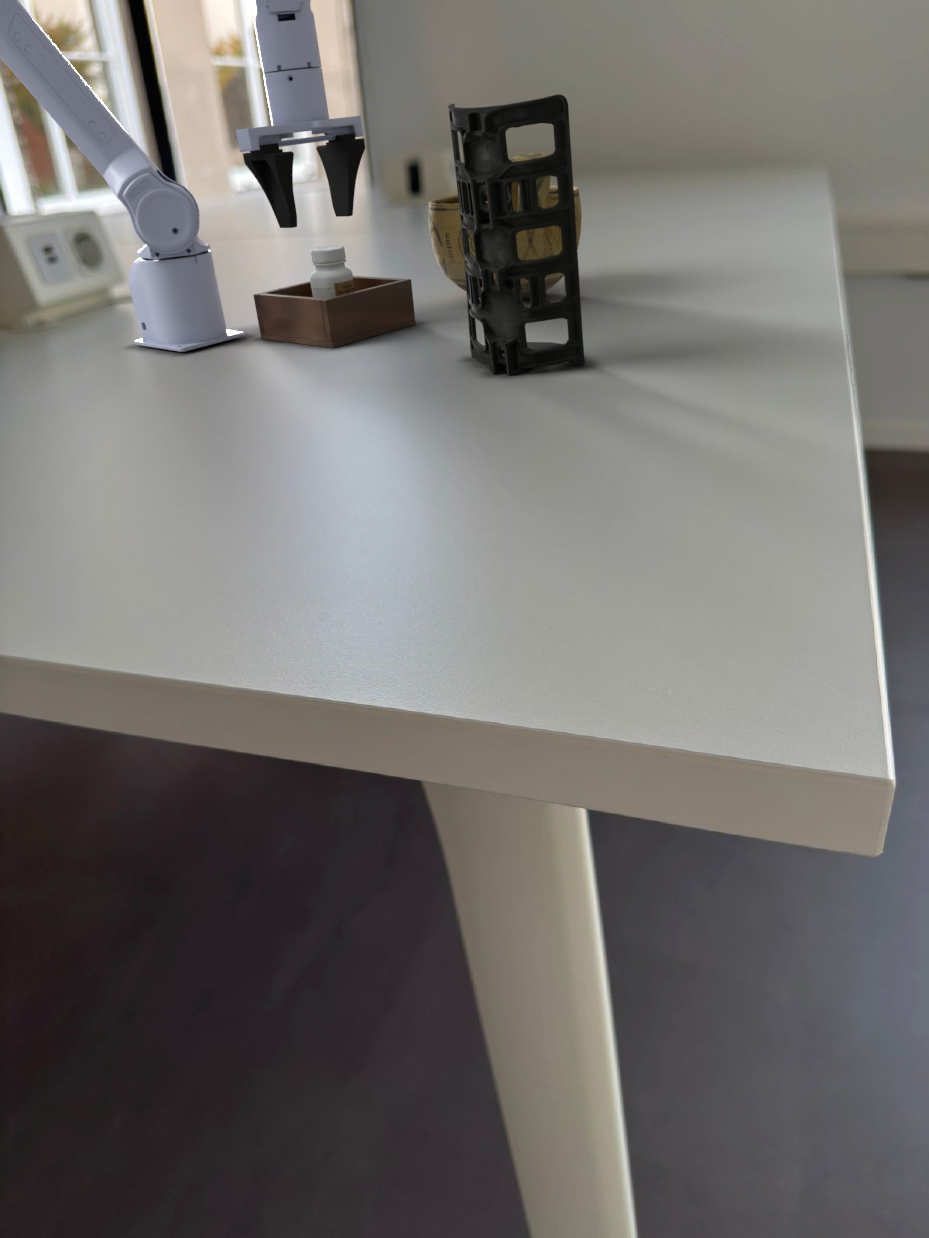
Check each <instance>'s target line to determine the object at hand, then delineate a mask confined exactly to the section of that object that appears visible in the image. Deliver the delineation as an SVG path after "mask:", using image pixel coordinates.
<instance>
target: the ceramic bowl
mask: <svg viewBox="0 0 929 1238" xmlns="http://www.w3.org/2000/svg"><path fill="white" fill-rule="evenodd" d="M545 156H548V154H547V152H542V151H541V152H533V153H527V154H519V155H514V156H513V157H512V158H511V159H510V160H511V161H512V162H516V161H524V160H530V159H535V158H541V157H545ZM536 186H537V197H538V204H539V207H542V208H549V207H553V206H555V205H556V204H557V203H558V202H559V197H558V185H551V176H544V177H540V178H538V179H537V182H536ZM573 188H574V204H575V220H576V236H577V250H578V249H579V246H580V239H581V233H582V204H581V195H580V189H579V187H578V186H574V185H573ZM511 193H512V202H513V209H514V211H515V212H519V211H521V200H520V189H519V183H518V182H517V181H516V182H512V192H511ZM485 201H486V203H487V204H488V200H487V193H486V192H485ZM469 208H470V207H469ZM428 230H429V236H430V243H431V247H432V251H433V255H434V257H435V260H436V262H437V264H438V267H439V268H440V269H441V271H442V273H443V275H444V276H445V277H446V278H447V279H448V280H449V281H451V282H452V283H453V284H454V285H455V286H457V288H460V290H463V291H465V292H467V291H466V277H465V263H464V251H463V240H462V229H461V219H460V210H459V200H458V194H455V195H447V196H442V197H437V198H434V199H431V200H429V201H428ZM468 236H469V247H470V256H471V257H473V258H475V249H474V241H473V234H472V233H471V231H470V230H468ZM516 241H517V251H518V257H519V259H521V260H523V261H524V260H533V259H539V258H544V257H549V256H554V255H557V254H559V253H560V252H561V250H562V239H561V228H560V227H558V226H550V227H546V228H538V229H531V230H523V231H520V232H518V233H517V234H516ZM493 275H494V282H495V284H497V279H496V274H495V273H493ZM563 278H564V274H562V273H554V274H549V275H547V276H546V277H545V289H546V292H547V291H549V289H551V288H553V287H554V286H555V285H556V284H557V283H559V281H561V280H562V279H563ZM520 280H521V292H522V300H526V299H530V291H529V281H528V280H526V279H524V278H522V279H520ZM477 281H478V280H477ZM478 291H479V287H478ZM479 298H480V295H479Z"/></svg>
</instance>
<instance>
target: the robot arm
mask: <svg viewBox="0 0 929 1238" xmlns="http://www.w3.org/2000/svg"><path fill="white" fill-rule="evenodd" d="M311 1H312V0H252V5H253V8H254V16H255V17H254V18H253V24H254V32H255V35H256V42H257V47H258V54H259V59H260V64H261V69H262V74H263V76H262V77H263V82H264V87H265V93H266V98H267V104H268V108H269V116H270V122H271V125H266V126H257V127H249V128H241V129H240V128H239V129H235V133H236V138H237V144H238V148H239V152H240V153H242V157H243V162H244V165H245V166H246V167H247V169H248V170H249V171H250V172H251V174H252V175H253V177H254V178H255V179H256V181H257V183H258V184H259V186H260V187H261V189H262V191H263V193H264V195H265V197H266V199H267V201H268V203H269V205H270V207H271V209H272V212H273V214H274V217H275V219H276V221H277V224H278V226H279V228H280V229H293V228H298V214H297V213H298V212H297V208H296V201H295V194H294V182H293V181H294V180H293V179H294V177H293V176H294V175H293V173H294V171H293V170H294V168H293V167H294V157H295V153H294V152H293V151H283V148H282V147H289V146H296V145H303V144H311V143H319V142H325V144H321V145H317V146H316V148H315V149H316V151H317V154H318V156H319V158H320V161H321V162H322V166H323V169H324V172H325V176H326V178H327V179H326V180H327V182H328V188H329V194H330V198H331V199H330V200H331V205H332V208H333V211H334V215H335V217H337V218H338V217H352V216H353V215H354V205H355V204H354V201H355V192H356V191H355V190H356V183H357V177H358V171H359V168H360V165H361V161H362V158H363V155H364V153H365V150H366V142H365V138H363V137H364V129H363V123H362V115H354V116H344V117H336V118H330V115H329V106H328V101H327V95H326V88H325V82H324V81H325V80H324V75H323V68H322V61H321V54H320V53H321V52H320V47H319V41H318V40H319V39H318V34H317V28H316V21H315V15H314V12H313V11H312V7H311ZM0 59H1V61H2V62H3V63H4V64H5V65H6V66H7V67H8V68H9V70H10V71H11V72H12V74H13V75H14V76H15V77H16V78H17V80H19V81H20V83H21V84H22V85H23V86H24V87H25V88H26V89H27V90H28V92H29V93H30V94H31V95H32V96H33V97H34V99H35V100H36V101H37V102H38V103H39V105H40V106H41V108H43V109H44V110H45V112H46V113H47V114H48V115H49V116H50V117H51V118H52V120H53V121H54V122H55V123H56V124H57V125H58V126H59V128H60V129H61V130H62V131H63V132H64V134H65V135H66V136H67V137H68V138H69V139H70V141H71V142H72V143H73V144H74V145H75V147H77V149H78V150H79V151H80V152H81V153H82V155H84V157H85V158H86V159H87V160H88V161H89V163H90V164H91V165H92V166H93V167H94V168H95V169H96V170H97V172H98V173H99V174H100V175H101V176H102V178H103V179H104V180H105V182H106V184H107V185H108V186H109V189H111V191H112V192H113V194H114V195H115V197H116V198H117V200H118V201H120V203H121V204H122V205H123V206H124V207H125V209H126V211H127V212H128V215H129V217H130V220H131V224H132V227H133V230H134V231H135V234H136V235H137V237H138V239H139V240H140V241H141V242H142V244H144V245H143V247H142V248H140V249H138V250H137V257H138V258H137V259H136V260H134V262H133V264H132V265H131V267H130V270H129V273H128V287H129V291H130V296H131V300H132V305H133V307H134V308H133V309H134V312H135V316H136V320H137V324H138V329H139V334H140V338H139V339H135V340H134V344H135V346H141V347H148V348H154V349H161V350H166V351H167V350H168V351H173V352H180V353H184V352H189V351H193V350H196V349H197V350H198V349H200V348H204V347H207V346H211V345H215V344H218V343H223V342H228V341H231V340H235V339H238V338H241V337H245V331H242V330H235V329H227V325H226V324H227V323H226V320H225V315H224V309H223V305H222V300H221V293H220V289H219V284H218V280H217V279H218V278H217V274H216V269H215V264H214V258H213V254H212V250H211V245H210V243H207V242H204V241H203V240H202V239H200V238H199V237H200V236H198V234H199V230H200V222H201V221H200V218H201V217H200V216H201V215H200V209H199V205H198V202H197V200H196V198H195V196H194V195H193V193H192V192H191V191H190V190H189V189H188V188H186V187H185V185H182V184H181V183H179V182H177V181H175V180H173V179H171V178H169V177H168V176H167V175H166V174H164V173H163V172H162V170H160V168H159V166H157V165H156V163H155V162H154V161H153V160H152V159H151V158H150V157H149V155H148V154H146V152H145V151H144V150H143V149H142V148H141V147H140V146H139V145H138V144H137V142H136V140H134V138H133V137H132V136H131V135H130V134H129V133H128V131H127V130H126V129H125V128H124V127H123V125H122V124H121V123H120V122H119V120H118V119H117V118H116V117H115V116H114V114H113V113H112V112H111V111H110V110H109V108H108V107H107V106H106V105H105V103H104V102H103V101H102V99H100V97H99V96H98V95H97V94H96V92H94V90H93V89H92V87H90V85H89V84H88V83H87V82H86V81H85V79H84V78H83V77H82V76H81V74H80V73H79V72H78V70H76V68H75V67H74V65H72V63H71V62H70V61H69V60H68V59H67V58H66V56H65V55H64V54H63V53H62V51H61V50H60V49H59V48H58V47H57V45H56V44H55V42H53V41H52V39H51V38H50V37H49V35H47V33H46V32H45V31H44V30H43V28H42V27H41V26H40V25H39V23H37V21H36V20H35V19H34V18H33V16H32V15H31V14H30V13H29V11H27V9H26V8H25V7H24V6H23V4H22V3H21V2H20V1H19V0H0ZM303 132H311V135H312V136H308V137H301V138H294V137H295V136H294V135H295V134H294V133H303ZM322 134H323V135H322ZM313 135H315V136H313ZM316 135H317V136H316ZM358 137H361V138H358ZM292 138H293V139H292ZM283 139H286V140H283ZM327 141H328V142H327Z"/></svg>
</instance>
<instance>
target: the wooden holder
mask: <svg viewBox="0 0 929 1238" xmlns="http://www.w3.org/2000/svg"><path fill="white" fill-rule="evenodd" d="M353 280H354V289H355V292H351V293H347V294H343V295H339V296H335V297H331V298H327V299H325V298H313V294H312V288H311V281H310V280H309V281H305V282H300V283H296V284H293V285H287V286H283V287H278V288H275V289H271V290H266V291H261V292H258V293H253V300H254V307H255V313H256V317H257V323H258V328H259V335H260V338H261V339H262V340H268V341H269V340H270V341H276V342H285V343H292V344H300V345H308V346H314V347H321V348H329V349H334V348H338V347H341V346H345V345H348V344H351V343H355V342H358V341H361V340H366V339H368V338H372V337H376V336H379V335H383V334H386V333H388V332H392V331H395V330H400V329H402V328H406V327H409V326H412V325H416V323H417V322H416V312H415V303H414V295H413V294H414V293H413V286H412V285H413V284H412V279H411V278H396V277H381V276H379V277H378V276H366V275H365V276H363V275H353Z"/></svg>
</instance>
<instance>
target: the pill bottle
mask: <svg viewBox="0 0 929 1238" xmlns="http://www.w3.org/2000/svg"><path fill="white" fill-rule="evenodd" d="M310 257H311V262H312V266H314V268H315V270H314V271H312V272H311V274H310V277H309V281H311V288H312V294H313V298H325V299H327V298H331V297H335V296H339V295H343V294H347V293H351V292H355V289H354V280H353V276H354V275H353V271H352V270H351V269H350V268H349V267H346V266H345V263H346V262H347V259H346V258H347V257H346V250H345V247H344V246H343V245H327V246H320V247H319V246H318V247H314V248H312V249H310Z"/></svg>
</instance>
